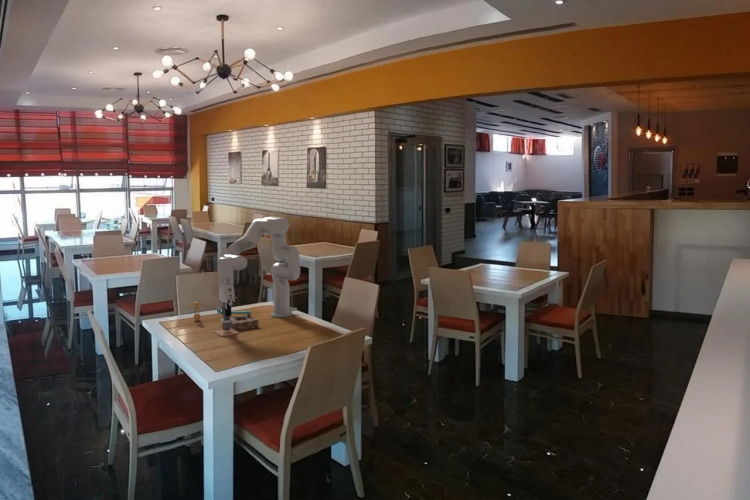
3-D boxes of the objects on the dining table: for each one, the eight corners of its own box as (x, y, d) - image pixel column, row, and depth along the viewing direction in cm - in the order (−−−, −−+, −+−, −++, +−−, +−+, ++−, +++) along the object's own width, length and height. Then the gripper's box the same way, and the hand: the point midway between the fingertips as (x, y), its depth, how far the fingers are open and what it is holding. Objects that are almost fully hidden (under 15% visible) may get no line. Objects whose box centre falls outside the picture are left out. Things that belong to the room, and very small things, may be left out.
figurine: (205, 319, 327) (204, 298, 326) (204, 322, 322) (203, 301, 320) (189, 320, 326) (189, 299, 324) (188, 322, 320) (188, 301, 318)
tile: (232, 329, 307) (231, 328, 307) (239, 333, 299) (239, 332, 299) (213, 332, 301) (213, 331, 301) (221, 336, 293) (221, 335, 293)
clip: (251, 313, 321) (251, 308, 320) (250, 314, 318) (250, 309, 318) (217, 312, 320) (217, 308, 320) (216, 313, 317) (216, 309, 317)
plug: (230, 327, 304) (229, 300, 302) (234, 329, 299) (234, 302, 297) (219, 329, 300) (218, 302, 299) (223, 331, 296) (223, 304, 294)
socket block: (247, 321, 324) (247, 312, 323) (258, 327, 313) (258, 317, 312) (223, 325, 316) (223, 315, 315) (234, 330, 304) (234, 320, 304)
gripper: (239, 282, 292) (240, 317, 295) (226, 277, 305) (227, 311, 308) (225, 284, 288) (226, 319, 290) (212, 279, 301) (213, 313, 303)
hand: (226, 315), depth 299 cm, fingers closed on plug, 3 cm apart
